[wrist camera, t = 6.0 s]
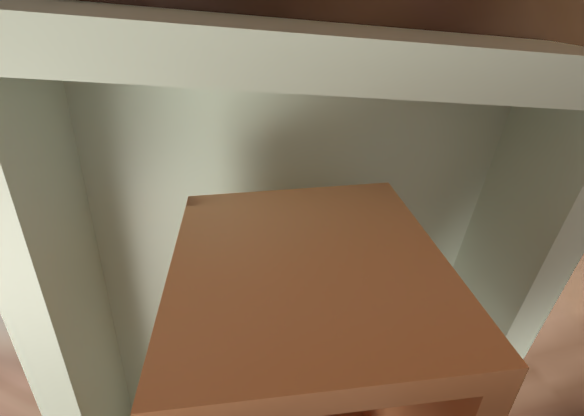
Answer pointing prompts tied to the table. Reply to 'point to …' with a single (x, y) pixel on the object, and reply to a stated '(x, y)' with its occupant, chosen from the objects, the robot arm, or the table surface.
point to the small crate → (319, 314)
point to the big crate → (261, 162)
